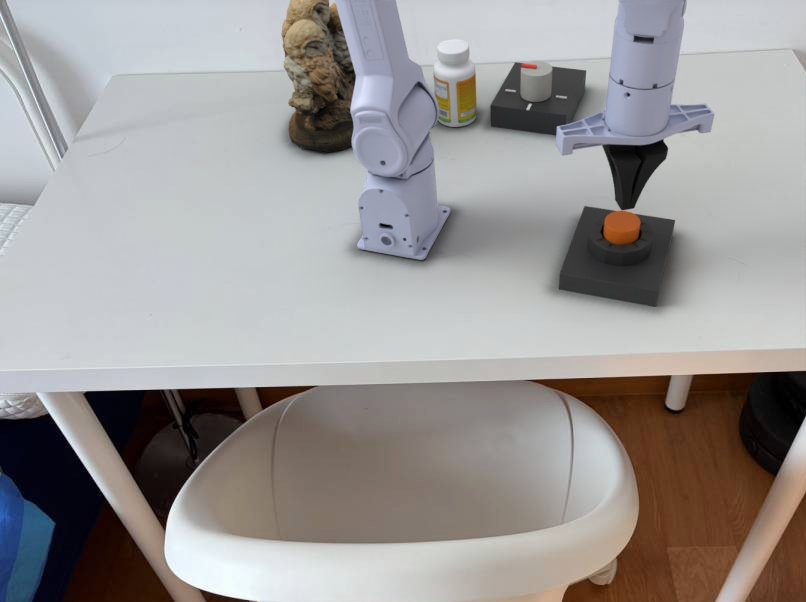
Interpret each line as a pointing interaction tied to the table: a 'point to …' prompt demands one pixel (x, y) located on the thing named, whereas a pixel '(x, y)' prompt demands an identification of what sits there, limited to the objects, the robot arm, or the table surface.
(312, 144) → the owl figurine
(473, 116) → the supplement bottle
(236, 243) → the table surface
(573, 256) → the housing
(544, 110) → the timer panel
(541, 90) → the timer dial
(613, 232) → the button
